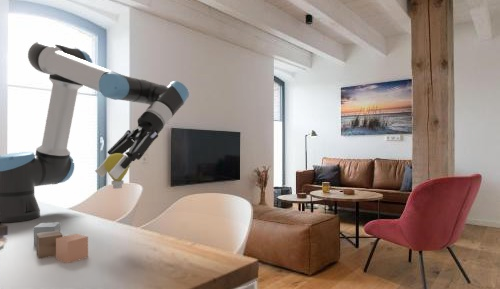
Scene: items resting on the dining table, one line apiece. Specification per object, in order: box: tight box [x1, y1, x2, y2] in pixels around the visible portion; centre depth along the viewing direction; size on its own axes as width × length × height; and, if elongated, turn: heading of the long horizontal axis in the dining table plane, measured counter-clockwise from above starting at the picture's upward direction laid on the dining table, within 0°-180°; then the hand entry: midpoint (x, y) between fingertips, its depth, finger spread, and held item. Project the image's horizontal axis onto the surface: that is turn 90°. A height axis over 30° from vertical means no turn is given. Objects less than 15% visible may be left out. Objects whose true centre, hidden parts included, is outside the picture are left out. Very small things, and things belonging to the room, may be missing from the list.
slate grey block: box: [33, 221, 61, 247], centre depth 96 cm, size 5×5×5 cm
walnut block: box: [35, 230, 64, 259], centre depth 87 cm, size 5×5×5 cm
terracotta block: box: [55, 233, 89, 264], centre depth 83 cm, size 5×5×5 cm
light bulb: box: [104, 153, 131, 190], centre depth 100 cm, size 7×7×10 cm
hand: (105, 175), depth 97 cm, fingers closed on light bulb, 7 cm apart
